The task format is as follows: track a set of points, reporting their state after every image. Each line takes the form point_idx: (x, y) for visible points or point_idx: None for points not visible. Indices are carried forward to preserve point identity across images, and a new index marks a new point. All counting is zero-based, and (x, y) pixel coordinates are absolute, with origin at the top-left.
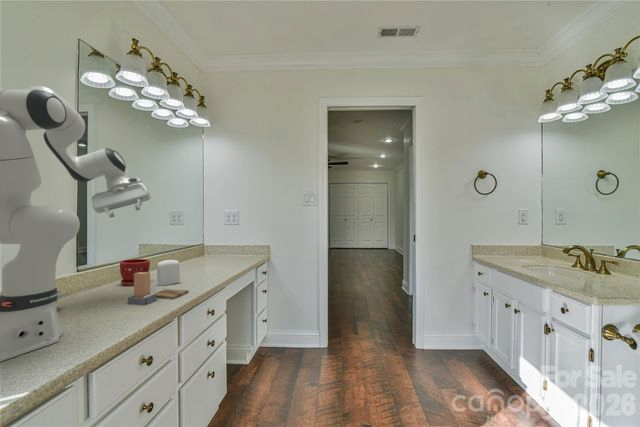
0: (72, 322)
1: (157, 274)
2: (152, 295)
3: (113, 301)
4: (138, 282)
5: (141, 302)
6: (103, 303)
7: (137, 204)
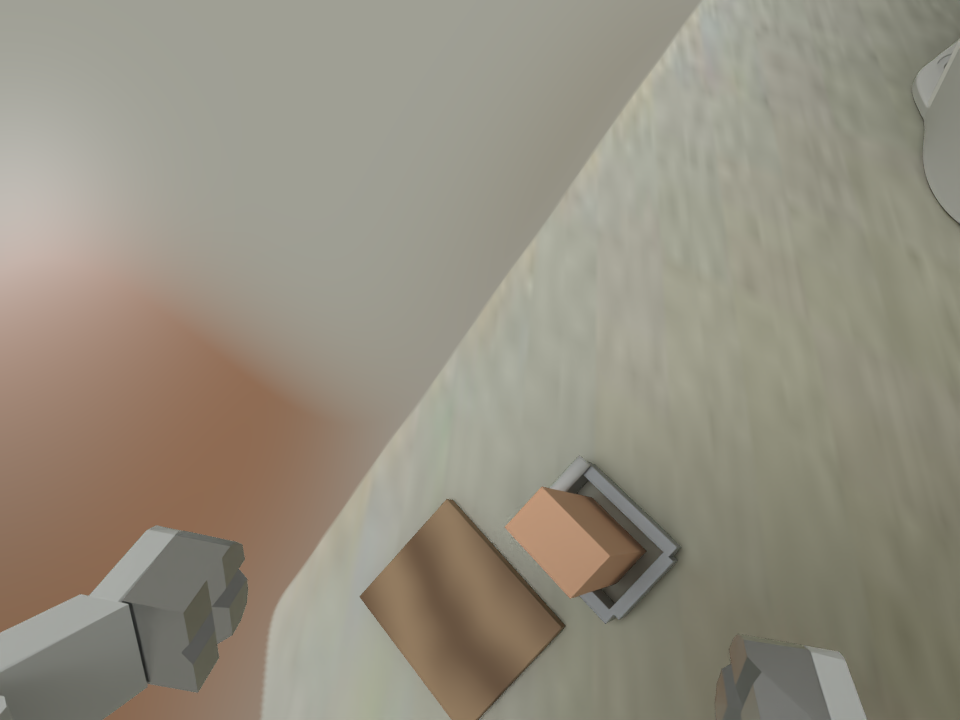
0: (930, 331)
1: None
2: None
3: None
4: (594, 526)
5: (604, 475)
6: None
7: (114, 598)
